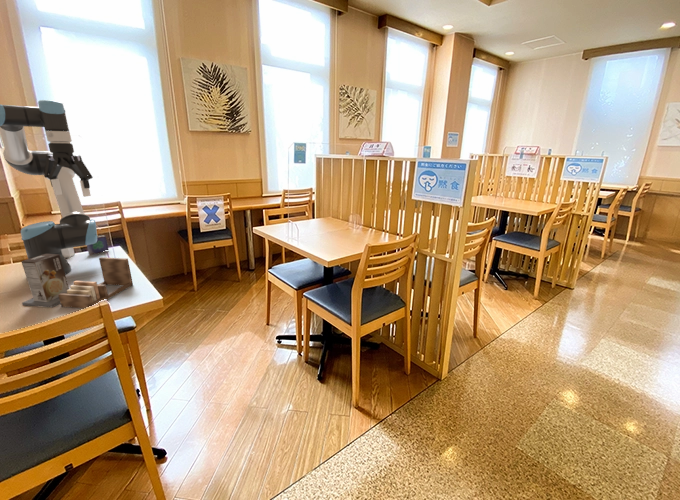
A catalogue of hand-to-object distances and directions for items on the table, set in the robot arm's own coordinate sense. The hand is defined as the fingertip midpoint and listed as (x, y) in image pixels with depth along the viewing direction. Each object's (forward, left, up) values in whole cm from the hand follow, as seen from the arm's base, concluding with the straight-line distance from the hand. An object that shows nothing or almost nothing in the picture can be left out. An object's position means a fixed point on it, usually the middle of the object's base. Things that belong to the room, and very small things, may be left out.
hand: (72, 195), depth 137 cm
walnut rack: (+20, -18, -36) cm, 45 cm away
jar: (-35, +21, -37) cm, 55 cm away
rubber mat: (+5, -24, -36) cm, 44 cm away
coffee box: (+5, -24, -36) cm, 43 cm away
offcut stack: (+20, -25, -36) cm, 48 cm away
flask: (-22, +29, -37) cm, 52 cm away
